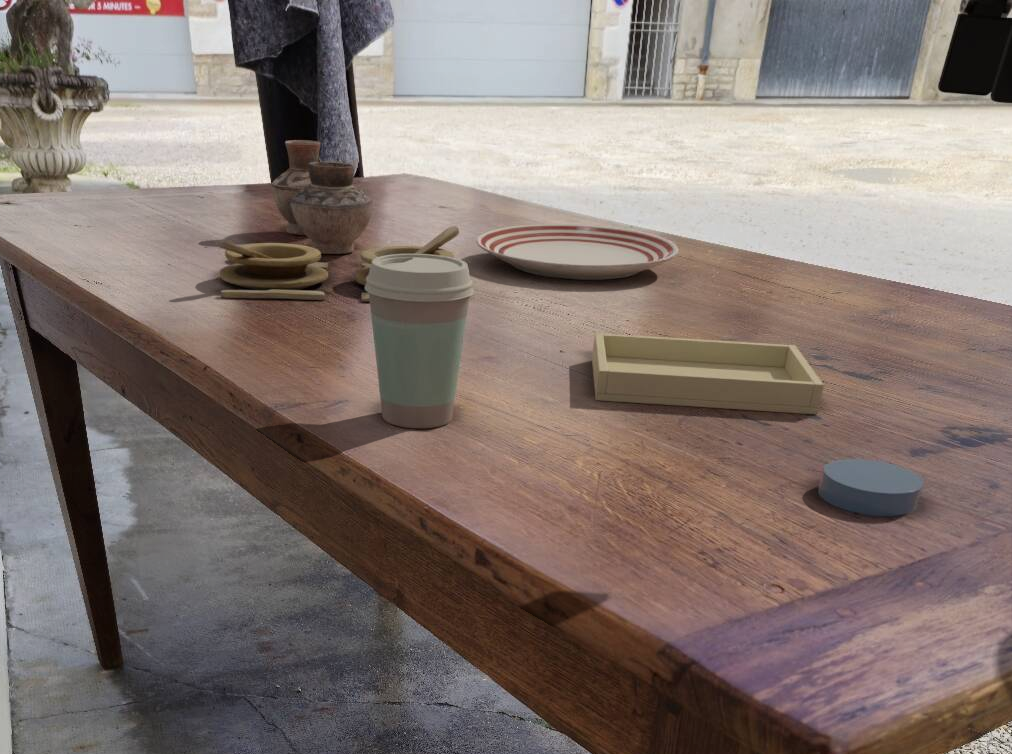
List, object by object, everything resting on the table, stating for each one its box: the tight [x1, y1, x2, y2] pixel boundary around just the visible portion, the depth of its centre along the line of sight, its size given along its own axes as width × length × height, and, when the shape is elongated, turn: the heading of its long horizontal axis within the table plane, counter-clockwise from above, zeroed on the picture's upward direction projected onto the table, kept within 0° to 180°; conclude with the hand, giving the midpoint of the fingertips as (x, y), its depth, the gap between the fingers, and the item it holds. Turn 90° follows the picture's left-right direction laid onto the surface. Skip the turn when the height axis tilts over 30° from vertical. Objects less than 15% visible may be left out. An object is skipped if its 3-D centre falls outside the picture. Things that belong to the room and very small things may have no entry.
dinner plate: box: [476, 223, 679, 281], centre depth 143 cm, size 27×27×3 cm
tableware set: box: [218, 225, 460, 303], centre depth 127 cm, size 30×20×6 cm, turn 95°
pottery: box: [270, 139, 374, 255], centre depth 148 cm, size 11×25×12 cm, turn 22°
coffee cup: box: [364, 254, 475, 430], centre depth 84 cm, size 8×8×12 cm
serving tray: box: [591, 332, 825, 415], centre depth 97 cm, size 20×14×3 cm
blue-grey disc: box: [817, 458, 924, 517], centre depth 74 cm, size 7×7×2 cm
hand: (989, 98), depth 61 cm, fingers open, 9 cm apart
